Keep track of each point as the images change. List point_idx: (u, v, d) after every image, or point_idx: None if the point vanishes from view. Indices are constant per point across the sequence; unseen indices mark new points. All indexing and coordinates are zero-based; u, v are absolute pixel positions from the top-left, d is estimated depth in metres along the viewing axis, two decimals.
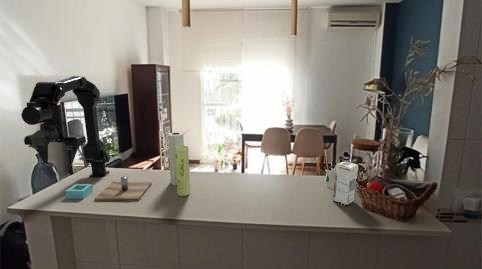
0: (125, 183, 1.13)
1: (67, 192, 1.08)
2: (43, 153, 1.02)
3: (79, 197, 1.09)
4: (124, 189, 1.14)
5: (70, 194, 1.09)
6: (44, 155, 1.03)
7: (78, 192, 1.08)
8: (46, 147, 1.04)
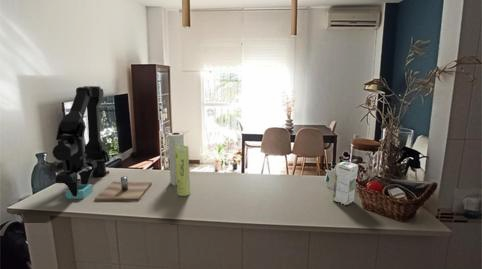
0: (125, 183, 1.13)
1: (67, 192, 1.08)
2: (82, 179, 1.15)
3: (79, 197, 1.09)
4: (124, 189, 1.14)
5: (70, 194, 1.09)
6: (83, 181, 1.15)
7: (78, 192, 1.08)
8: (87, 175, 1.14)
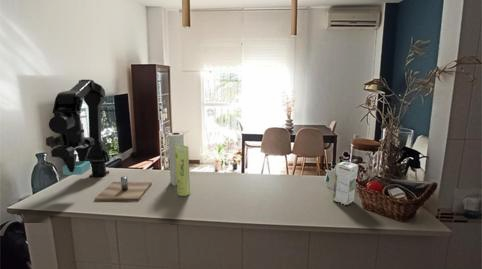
0: (125, 183, 1.13)
1: (64, 168, 1.06)
2: (79, 156, 1.12)
3: (77, 173, 1.07)
4: (124, 189, 1.14)
5: (67, 170, 1.06)
6: (80, 158, 1.13)
7: (75, 168, 1.06)
8: (85, 152, 1.12)
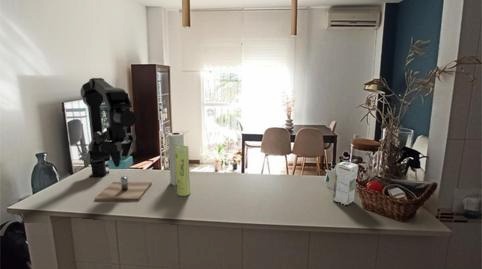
0: (125, 183, 1.13)
1: (109, 162, 1.09)
2: (122, 152, 1.15)
3: (122, 168, 1.09)
4: (124, 189, 1.14)
5: (112, 165, 1.09)
6: (123, 154, 1.15)
7: (120, 162, 1.09)
8: (127, 148, 1.15)
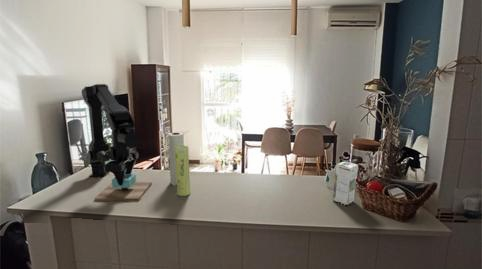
0: None
1: (113, 181, 1.11)
2: (125, 169, 1.17)
3: (125, 186, 1.11)
4: (124, 189, 1.14)
5: (116, 183, 1.11)
6: (126, 171, 1.17)
7: (124, 181, 1.11)
8: (131, 165, 1.17)
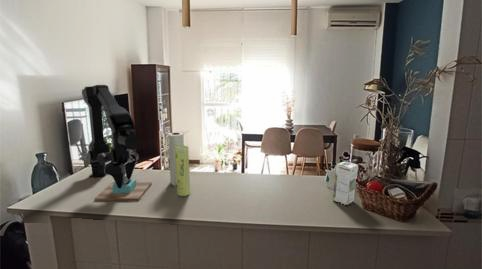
0: (125, 183, 1.13)
1: (114, 187, 1.11)
2: (127, 170, 1.18)
3: (126, 192, 1.12)
4: None
5: (117, 189, 1.11)
6: (127, 172, 1.18)
7: (124, 187, 1.11)
8: (132, 166, 1.18)
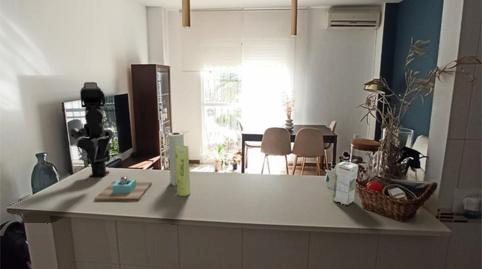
0: (125, 183, 1.13)
1: (114, 187, 1.11)
2: (101, 146, 1.22)
3: (126, 192, 1.12)
4: None
5: (117, 189, 1.11)
6: (101, 148, 1.22)
7: (124, 187, 1.11)
8: (106, 142, 1.22)
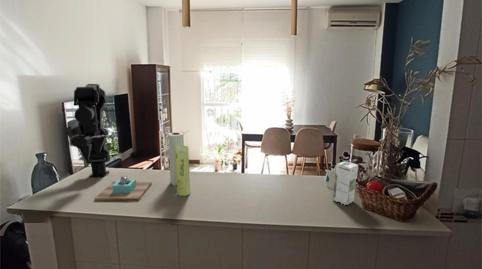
0: (125, 183, 1.13)
1: (114, 187, 1.11)
2: (96, 145, 1.23)
3: (126, 192, 1.12)
4: None
5: (117, 189, 1.11)
6: (96, 147, 1.23)
7: (124, 187, 1.11)
8: (101, 141, 1.23)
